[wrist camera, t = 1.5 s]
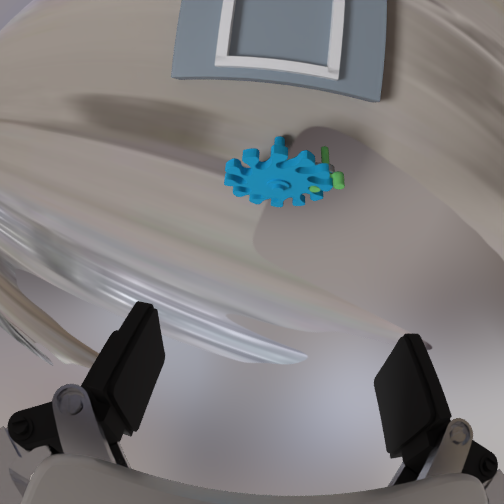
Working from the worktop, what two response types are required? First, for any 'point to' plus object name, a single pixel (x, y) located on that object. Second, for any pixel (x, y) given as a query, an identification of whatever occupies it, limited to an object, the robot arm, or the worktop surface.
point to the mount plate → (285, 43)
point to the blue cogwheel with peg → (282, 176)
